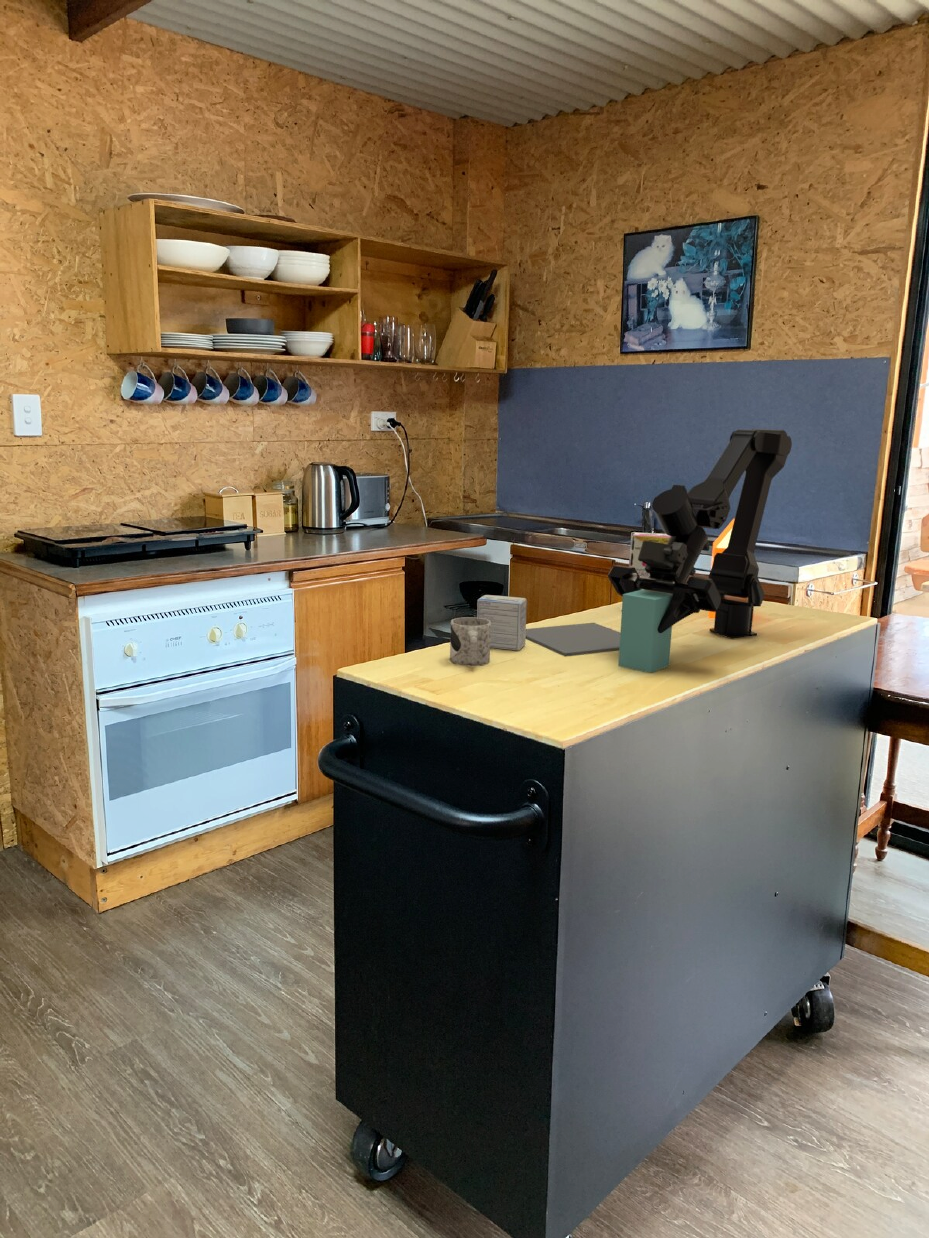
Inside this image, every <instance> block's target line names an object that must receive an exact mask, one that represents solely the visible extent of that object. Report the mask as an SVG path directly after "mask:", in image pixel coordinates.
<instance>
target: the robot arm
mask: <svg viewBox="0 0 929 1238" xmlns="http://www.w3.org/2000/svg"><path fill="white" fill-rule="evenodd" d="M792 445H793V444H792V438H791V437H790V436H788V433H787V432H786V431H785V430H783V429H767V428H766V429H765V428H763V429H761V428H758V429H757V428H752V429H737V430H733V431H732V432H731V434H730V437H729V442H728V444H727V445H726V447H725V449H724V450H723V451H722V454H721V455H720V457H719V458H718V460H717V461H716V463H715V464H714V465H713V468H712V469H711V471H710V473H709V474H708V476H707V477H706V479H705V480H704V481H701V482H699V483H698V484H696V485H694V486H692V487H691V489H690V490H689V491H687V488H686V485H682V484H673V485H672V487H671V488H670V489H667V490H665V491H662V492H661V493H659V494H658V495H657V496H655V497H654V498H653V501H652V502H651V504H652V505H651V507H652V510H653V513H654V515H655V516H656V518H657V521H658V523H659V525H660V527H661V530H662V531H663V533H664V534H667V535H669V536H671V537H670V539H669V541H668V543H667V544H664V543H657V542H649V541H643V543H642V546H641V550H640V553H639V556H638V560H639V561H642V562H643V563H645V564H646V567H645V570H646V572H647V573H650V576H649V577H642V576H639V575H638V573H637V571H636V569H635V568H634V567H629V565H627V566H626V565H620V564H616V565H613V566H612V567H611V569H610V570H609V571H608V574H607V577H608V580H609V581H610V583H611V585H612V586H613V588H614V589H615V592H616V593H617V594H618V595H619V596H620V597H623V594H626V593H630V592H634V591H639V590H644V589H646V590H652V591H654V592H660V593H666V594H672V595H673V596H672V601H671V603H670V605H669V606H668V608H667V610H666V612H665V614H664V616H663V618H662V619H661V621H660V624H659V626H658V632H659V633H663V632H664V631H666V630H667V629H668V628H670V627H671V626H672V627H673V626H675V624H677V623H679V622H680V621H681V620H684V619H686V618H687V617H689V616H690V615H691V616H692V615H693V614H694V613H695V614H699V612H700V611H705V612H708V611H711V612H715V619H714V624H713V627H712V628H709V630H708V631H709V632H711V633H714V634H717V635H720V636H722V637H726V638H729V639H739V638H740V639H741V638H749V637H757V636H758V632H755V631H752V629H753V619H754V607H761V606H762V604H763V601H764V597H765V591H764V590H763V586H762V584H761V581H760V580H759V565H758V562H757V559H756V555H755V549H756V546H757V541H758V537H759V533H760V528H761V526H762V521H763V516H764V513H765V512H764V511H765V507H766V505H767V500H768V497H769V496H768V495H769V492H770V488H771V484H772V480H773V479H774V478H775V476H776V475H778V473H780V472H781V470H782V469H783V468H784V467H785V465H786V462H787V459H788V455H790V453H791V450H792ZM744 473H745V476H744V478H743V483H742V486H741V491H740V496H739V500H738V503H737V507H736V512H735V516H734V518H735V519H734V518H733V519H734V523H733V527H732V531H731V535H730V539H729V543H728V547H727V548H726V549H725V550H724V551H723V552H722V553H716V555H715V556H714V561H713V566H712V569H711V568H710V571H709V575H708V577H702V576H701V577H700V576H695V574H696V571H697V570H696V568H695V565H696V563H697V561H698V559H699V557H700V555H701V553H702V551H705V552H709V551H710V543H709V538H708V534H707V532H706V531H705V529H712V530H719V529H720V528H722V526H723V525H724V524H725V522H726V521H727V519H728V517H729V513H730V510H731V504H730V497H731V495H732V493H733V491H734V490H735V488H736V486H737V484H738V482H739V481H740V479H741V478H742V476H743V475H744Z"/></svg>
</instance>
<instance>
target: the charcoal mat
mask: <svg viewBox="0 0 929 1238" xmlns="http://www.w3.org/2000/svg"><path fill="white" fill-rule="evenodd" d="M620 632H621V631H617V630H615V629H612V628H610V627H606V626H603V625H601V624H599V623H596V622H585V623H584V622H583V623H574V624H564V625H553V626H543V627H542V626H541V627H531V628H526V640H528V641H530V642H533V643H535V644H538V645H539V646H542V647H544V648H546V649H547V650H551V651H553V652H554V653H558V654H559V655H561V656H564V657H568V656H570V657H571V656H578V655H588V654H596V653H606V652H614V651H619V648H620Z"/></svg>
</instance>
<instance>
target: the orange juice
mask: <svg viewBox="0 0 929 1238" xmlns="http://www.w3.org/2000/svg"><path fill="white" fill-rule="evenodd" d="M734 519H735V517H734V518H733V519H732V520H731V521H730V522H729V524H728V525H727V526H726V528H724V529H723V531H722V532H721V533H720V534H719V536H717V538H716V539H715V541H713V542H712V553H711V563H710V570H711V569H712V566H713V561H714V556H715V555H716V553H722V552H723V551H724V550H725V549H726V548H727V547H728V543H729V539H730V535H731V531H732V527H733V523H734ZM707 614H708V619H713V620H715V612H711V611H707Z"/></svg>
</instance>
